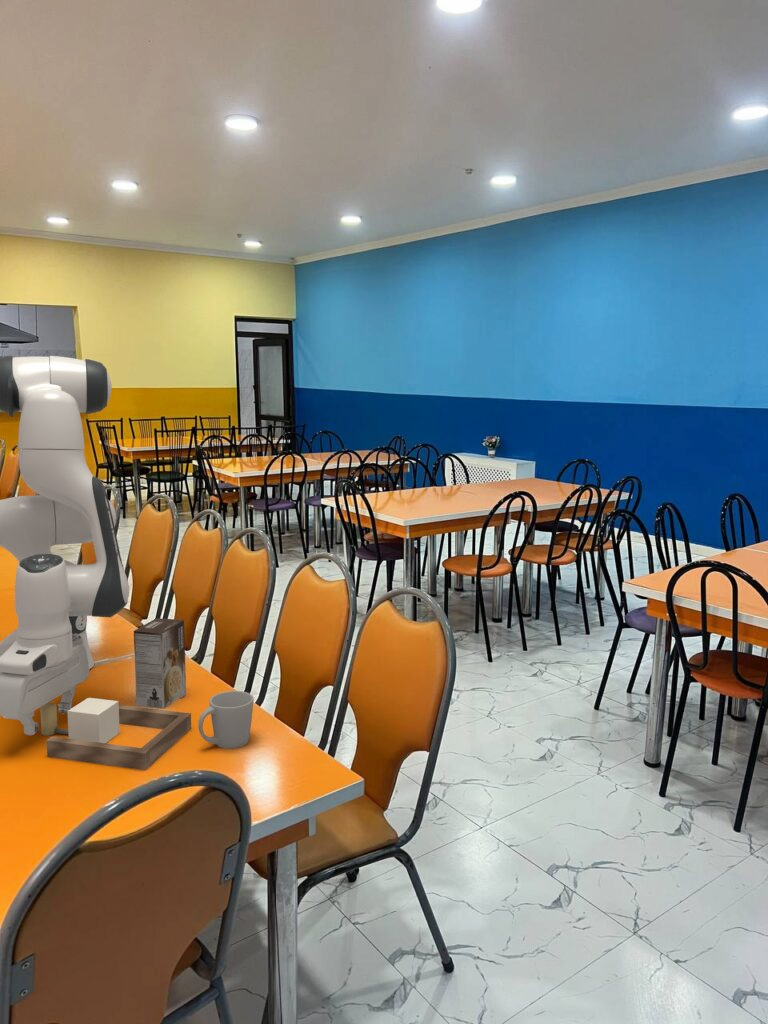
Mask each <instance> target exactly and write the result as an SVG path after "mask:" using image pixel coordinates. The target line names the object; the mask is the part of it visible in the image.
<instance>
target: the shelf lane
mask: <svg viewBox="0 0 768 1024" xmlns="http://www.w3.org/2000/svg"><path fill="white" fill-rule="evenodd" d="M119 725H129V726H135V727H142V728H143V727H144V728H150V729H158V730H161V731H160V732H158V733H157V734H156V735H154V736H153V738H151V739H150V740H149V741H148V742H146V743H145V744H144V745H143V746H142V747H137V746H128V745H119V744H112V743H99V742H91V741H84V740H76V739H69V737H67V738H66V737H60V736H53V735H51V736H50V737H49V738H48V739H46V740H45V744H46V757H47V758H52V759H59V760H66V761H74V762H80V763H81V762H82V763H89V764H96V765H103V766H109V767H110V766H111V767H118V768H125V769H131V770H139V771H146V770H147V769H149V768H150V767H151V766H152V765H153V764H154V763H155V762H156V761H158V759H160V758H161V757H162V756H163V755H164V754H166V753H167V751H168V750H170V748H172V747H174V745H175V744H176V743H177V742H178V741H179V740H181V739H182V738H183V737H184V736H185V735H187V733H189V731H191V729H192V713H191V712H190V713H189V712H182V711H173V710H165V709H159V708H151V707H142V706H131V705H122V704H119Z"/></svg>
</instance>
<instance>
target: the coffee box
mask: <svg viewBox="0 0 768 1024" xmlns="http://www.w3.org/2000/svg"><path fill="white" fill-rule="evenodd" d="M185 639H186V637H185V620H184V619H175V618H162V617H161V618H159V617H156V618H154V619H153V620H151V621H149V622H147V623H145V624H143V625H142V626H139V627H138V628H136V629H134V630H133V648H134V650H133V651H134V653H133V654H134V675H135V679H134V680H135V698H136V700H135V701H136V702H135V703H136V706H135V707H141V708H150V709H160V710H165V709H167V708H168V707H170V706H171V705H172V704H173V703H175V702H176V701H177V700H178V699H183V697H184V696H186V694H187V684H186V683H187V679H186V678H187V675H186V641H185Z"/></svg>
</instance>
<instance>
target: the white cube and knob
mask: <svg viewBox="0 0 768 1024" xmlns="http://www.w3.org/2000/svg"><path fill="white" fill-rule="evenodd" d="M119 703H120V702H119V700H111V699H103V698H93V697H87V698H85V699H84V700H82V701H81V702H80V703H78V704H76V705H75V706H72V708H71V709H70V710H68V711H67V727H68V728H67V729H64V728H58V711H57V704H56V703H55V702H48V703H46V704H45V705H43V706H41V707H40V708H39V709H40V711H39V712H40V724H41V725H40V726H41V729H40V730H41V731H40V732H41V735H42V736H44V737H45V736H47V737H48V736H49V737H50V736H53V735H56V734H61V735H68V739H76V740H84V741H91V742H99V743H106V744H108V742H110V741H111V740H113V739H114V738H115V737H116V736H117V735H119V734H120V732H121V731H120V724H119V705H120V704H119Z"/></svg>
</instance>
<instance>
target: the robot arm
mask: <svg viewBox="0 0 768 1024" xmlns="http://www.w3.org/2000/svg"><path fill="white" fill-rule="evenodd" d="M111 380H112V379H111V377H110V374H109V373H108V369H107V368H106V366H105V365H104V364H103V362H99V361H96V360H94V359H93V360H92V359H88V358H86V359H79V358H74V357H73V358H72V357H66V356H57V355H50V356H36V355H35V356H33V355H31V356H16V357H15V356H13V355H4V356H3V355H2V356H0V411H1V412H4V413H6V414H8V415H9V417H10V418H14V413H17V412H19V413H20V419H19V427H18V464H19V465H18V466H19V470H20V476H21V478H22V480H23V482H24V484H26V485H27V487H28V488H30V490H32V491H33V492H34V493H36V494H38V495H17V496H14V497H7V498H4V499H0V547H1V548H3V549H4V550H6V551H7V552H9V554H11V555H12V556H13V557H14V558H15V559H16V560H17V562H18V564H17V568H16V574H15V583H14V584H15V585H14V611H15V613H16V616H17V619H18V620H17V621H18V625H17V628H15V630H13V631H12V632H11V633H9V634H8V635H7V636H5V637H4V638H3V639H2V640H1V641H0V716H1V717H2V718H4V719H9V720H15V721H16V720H18V721H19V722H21V723H20V724H22V725H23V733H24V735H26V736H33V735H35V734H36V733H38V732H39V722H37V721H34V719H33V718H34V716H35V711H37V710H38V709H40V707H41V706H43V705H45V704H46V703H51V701H53V700H54V699H56V698H58V697H60V696H61V699H60V702H59V703H58V704H57V707H58V711H57V712H58V713H59V714H63V715H65V714H68V712H67V711H68V710H70V709H71V708H73V706H72V702H73V699H74V696H75V693H76V687H77V686H78V685H79V684H82V683H84V682H85V681H87V680H88V678H89V675H90V669H92V668H93V667H94V665H95V661H94V659H93V656H92V653H91V649H90V645H89V639H88V635H87V623H88V617H89V616H90V617H97V618H112V617H114V616H115V615H117V614H119V613H120V612H121V611H122V610H123V609H124V608H125V607H126V606H127V604H128V602H129V596H130V585H129V579H128V577H127V575H126V572H125V567H124V564H123V560H122V557H121V552H120V546H119V543H118V538H117V533H116V528H115V526H116V524H117V523H116V522H117V512H116V509H115V507H114V504H113V503H112V502H111V501H110V500H109V497H108V493H107V489H106V487H105V485H104V482H103V481H102V480H101V479H100V478H98V477H96V476H94V475H93V473H92V472H91V470H90V468H89V466H88V464H87V462H86V457H85V439H84V429H83V423H82V418H81V414H82V413H85V415H90V414H95V413H99V412H101V411H103V410H104V409H105V408H106V407H108V403H109V401H110V398H111V395H112V387H113V386H112V385H113V384H112V381H111ZM91 542H92V544H93V548H94V549H93V550H94V554H95V559H96V560H95V561H96V562H94V563H90V564H89V563H88V564H76V563H73V562H71V561H70V560H66V559H64V558H63V557H62V556H61V555H58V554H54V553H52V552H51V548H52V547H53V546H54V547H55V546H59V545H60V546H61V545H62V546H63V545H64V546H65V545H76V544H78V545H79V544H89V543H91Z"/></svg>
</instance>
